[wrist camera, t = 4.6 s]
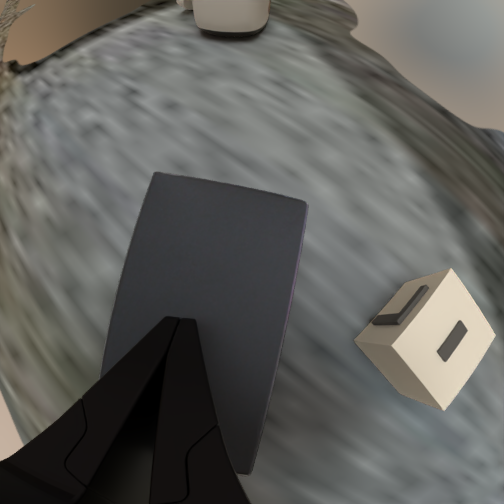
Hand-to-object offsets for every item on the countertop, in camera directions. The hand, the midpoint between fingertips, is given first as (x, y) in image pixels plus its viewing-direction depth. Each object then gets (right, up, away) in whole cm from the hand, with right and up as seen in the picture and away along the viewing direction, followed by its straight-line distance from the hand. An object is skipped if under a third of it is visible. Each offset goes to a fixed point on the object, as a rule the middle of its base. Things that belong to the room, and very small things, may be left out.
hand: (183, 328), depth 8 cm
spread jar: (-2, +30, +19) cm, 36 cm away
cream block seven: (+13, -4, +12) cm, 18 cm away
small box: (0, -3, +12) cm, 12 cm away
